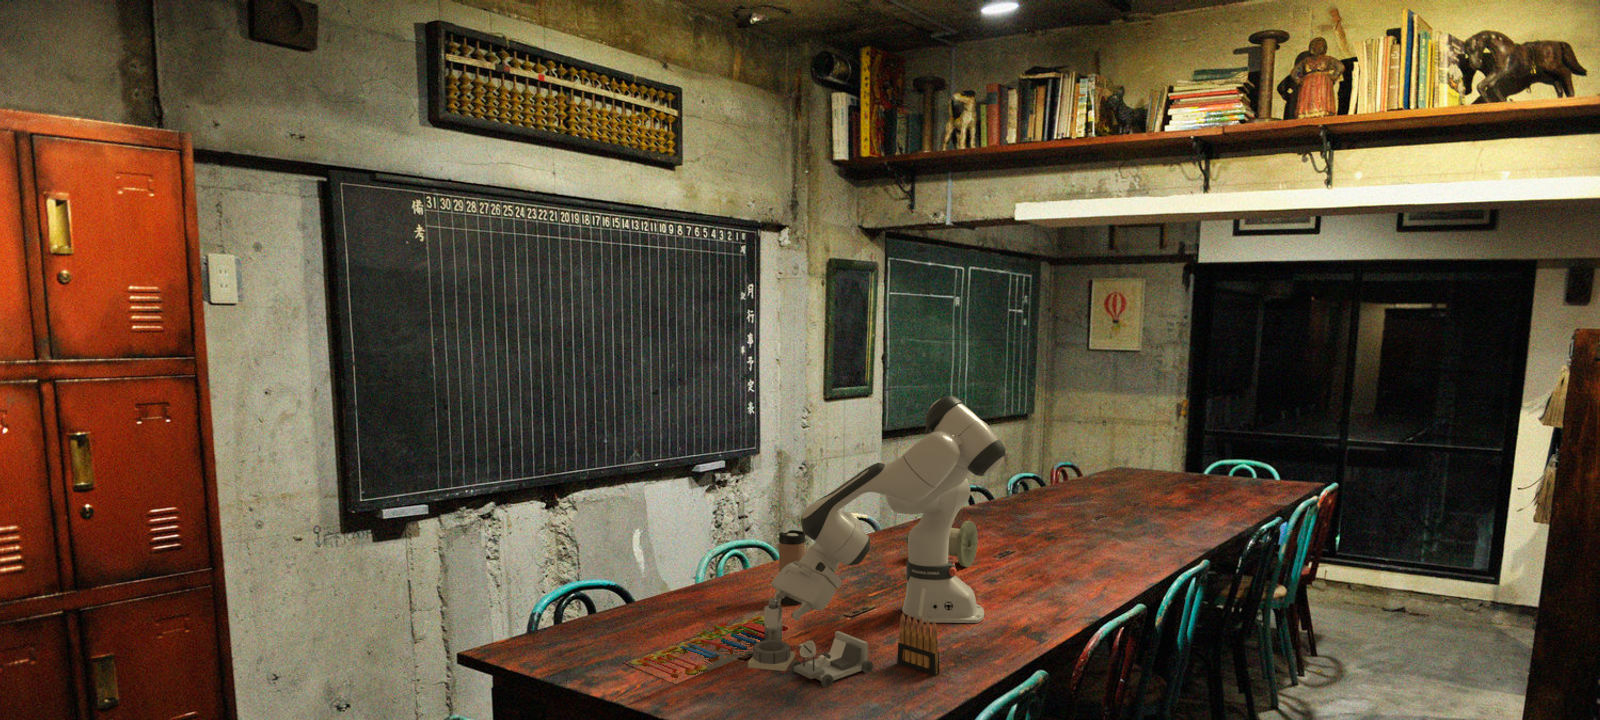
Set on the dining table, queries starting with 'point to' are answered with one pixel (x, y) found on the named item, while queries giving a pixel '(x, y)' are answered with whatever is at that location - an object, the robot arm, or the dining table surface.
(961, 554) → the spool
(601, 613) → the dining table surface
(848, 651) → the small toy car
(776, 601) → the grey peg
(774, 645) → the socket plate
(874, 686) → the dining table surface
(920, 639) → the ammunition clip
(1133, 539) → the dining table surface
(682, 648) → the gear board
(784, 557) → the travel mug
